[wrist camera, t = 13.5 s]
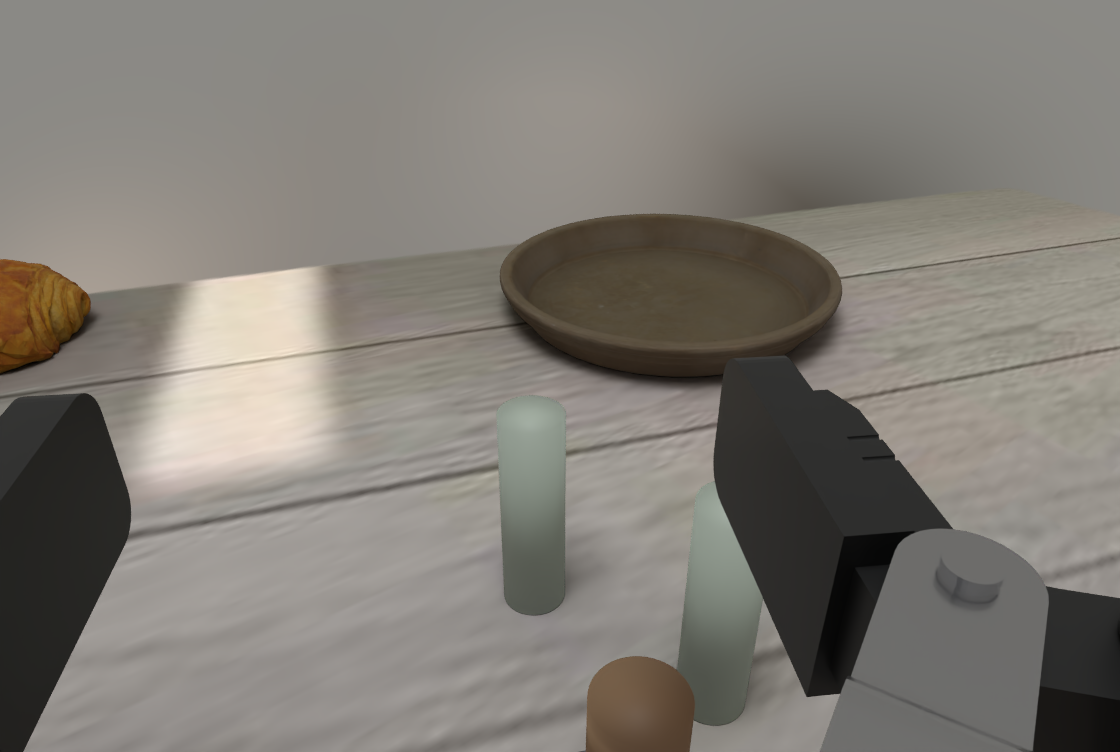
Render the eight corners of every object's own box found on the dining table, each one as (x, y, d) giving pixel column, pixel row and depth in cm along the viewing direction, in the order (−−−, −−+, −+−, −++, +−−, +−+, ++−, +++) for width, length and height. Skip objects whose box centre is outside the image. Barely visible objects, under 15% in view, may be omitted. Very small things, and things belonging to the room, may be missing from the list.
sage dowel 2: (660, 692, 41) (678, 502, 35) (705, 656, 43) (729, 469, 37) (714, 738, 39) (744, 543, 33) (759, 697, 41) (794, 506, 34)
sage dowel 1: (492, 590, 47) (482, 412, 41) (537, 562, 49) (535, 388, 43) (530, 625, 45) (526, 441, 38) (577, 594, 46) (580, 415, 40)
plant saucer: (467, 268, 87) (465, 227, 85) (729, 235, 96) (734, 196, 93) (563, 425, 62) (564, 373, 59) (908, 361, 70) (920, 312, 68)
